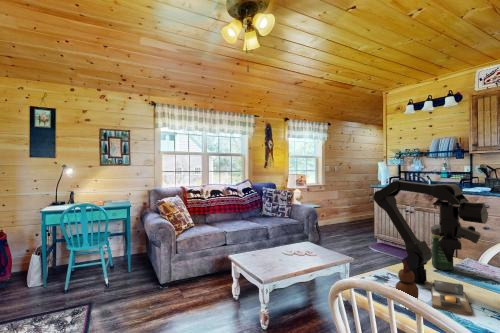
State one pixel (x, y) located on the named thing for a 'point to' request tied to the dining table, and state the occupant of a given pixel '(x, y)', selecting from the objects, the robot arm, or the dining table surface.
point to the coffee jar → (438, 251)
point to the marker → (448, 287)
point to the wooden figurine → (407, 281)
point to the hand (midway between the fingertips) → (449, 261)
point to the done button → (450, 299)
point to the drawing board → (459, 306)
